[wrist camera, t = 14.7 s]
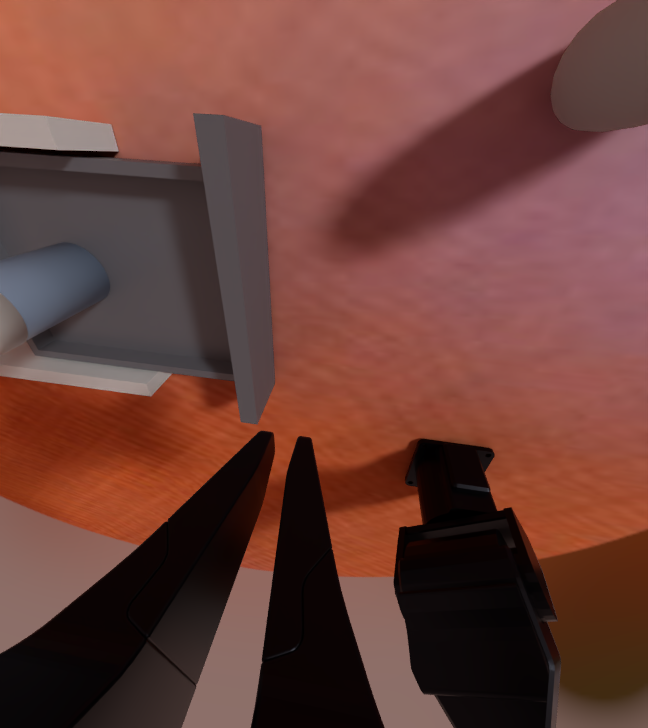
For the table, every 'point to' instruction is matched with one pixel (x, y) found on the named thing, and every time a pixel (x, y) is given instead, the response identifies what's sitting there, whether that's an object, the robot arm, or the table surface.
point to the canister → (46, 290)
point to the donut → (605, 71)
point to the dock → (22, 359)
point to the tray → (158, 256)
